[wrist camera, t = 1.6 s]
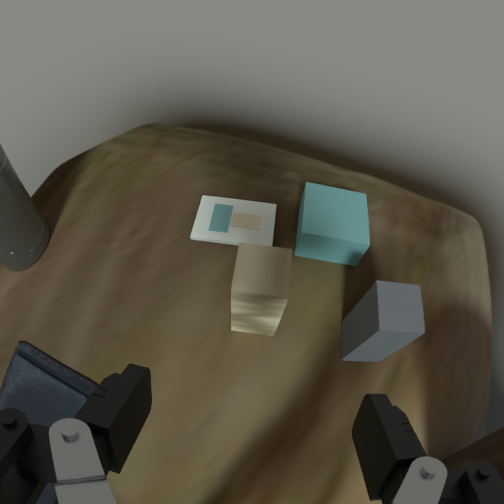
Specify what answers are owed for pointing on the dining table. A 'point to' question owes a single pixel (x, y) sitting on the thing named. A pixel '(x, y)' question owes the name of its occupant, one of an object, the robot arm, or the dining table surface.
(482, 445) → the plant pot
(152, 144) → the dining table surface
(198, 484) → the dining table surface
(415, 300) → the charcoal block
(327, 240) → the teal base block
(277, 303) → the maple block
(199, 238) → the card
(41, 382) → the dark blue-grey book
